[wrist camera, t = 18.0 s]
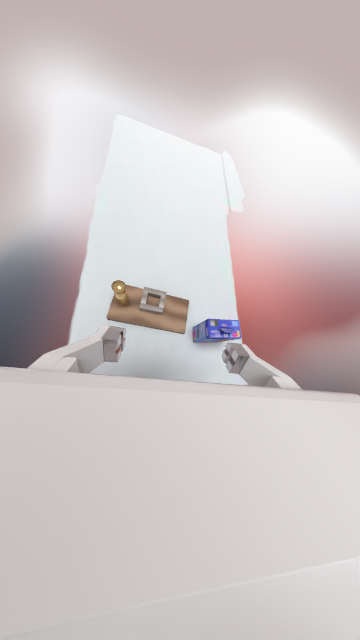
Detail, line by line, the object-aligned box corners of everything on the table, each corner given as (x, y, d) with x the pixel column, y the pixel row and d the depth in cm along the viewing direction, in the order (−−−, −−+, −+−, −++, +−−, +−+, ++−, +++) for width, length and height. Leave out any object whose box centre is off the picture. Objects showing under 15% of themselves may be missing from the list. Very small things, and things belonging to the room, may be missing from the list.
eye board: (183, 333, 44) (187, 331, 41) (107, 319, 40) (103, 315, 36) (187, 301, 48) (191, 297, 44) (118, 285, 43) (116, 278, 40)
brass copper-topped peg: (128, 307, 41) (124, 293, 31) (117, 305, 40) (110, 290, 31) (130, 298, 42) (127, 282, 32) (120, 296, 41) (113, 279, 32)
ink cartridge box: (192, 343, 44) (213, 336, 31) (191, 327, 46) (211, 314, 32) (219, 343, 47) (248, 337, 33) (217, 328, 48) (245, 316, 35)
